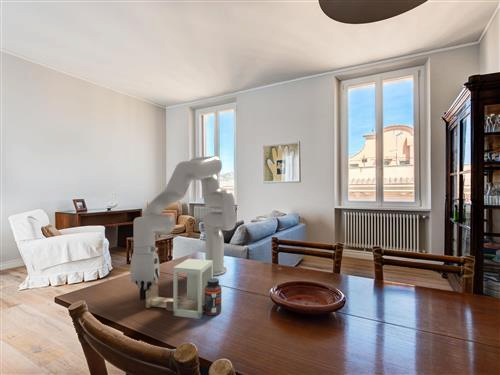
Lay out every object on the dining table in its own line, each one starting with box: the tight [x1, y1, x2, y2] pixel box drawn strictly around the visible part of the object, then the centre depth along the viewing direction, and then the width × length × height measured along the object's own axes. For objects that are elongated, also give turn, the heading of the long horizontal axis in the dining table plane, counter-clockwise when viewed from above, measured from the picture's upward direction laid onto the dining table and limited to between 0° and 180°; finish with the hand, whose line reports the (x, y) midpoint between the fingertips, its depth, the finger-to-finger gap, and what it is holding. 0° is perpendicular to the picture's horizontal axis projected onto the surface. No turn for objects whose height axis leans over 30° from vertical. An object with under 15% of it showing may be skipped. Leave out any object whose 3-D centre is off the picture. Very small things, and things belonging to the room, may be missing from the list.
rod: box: [145, 284, 205, 314], centre depth 96 cm, size 22×7×6 cm, turn 77°
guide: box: [165, 295, 182, 312], centre depth 96 cm, size 5×3×3 cm, turn 167°
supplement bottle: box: [204, 277, 223, 316], centre depth 93 cm, size 6×6×11 cm
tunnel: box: [172, 258, 214, 320], centre depth 94 cm, size 11×10×16 cm
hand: (144, 298), depth 99 cm, fingers closed
